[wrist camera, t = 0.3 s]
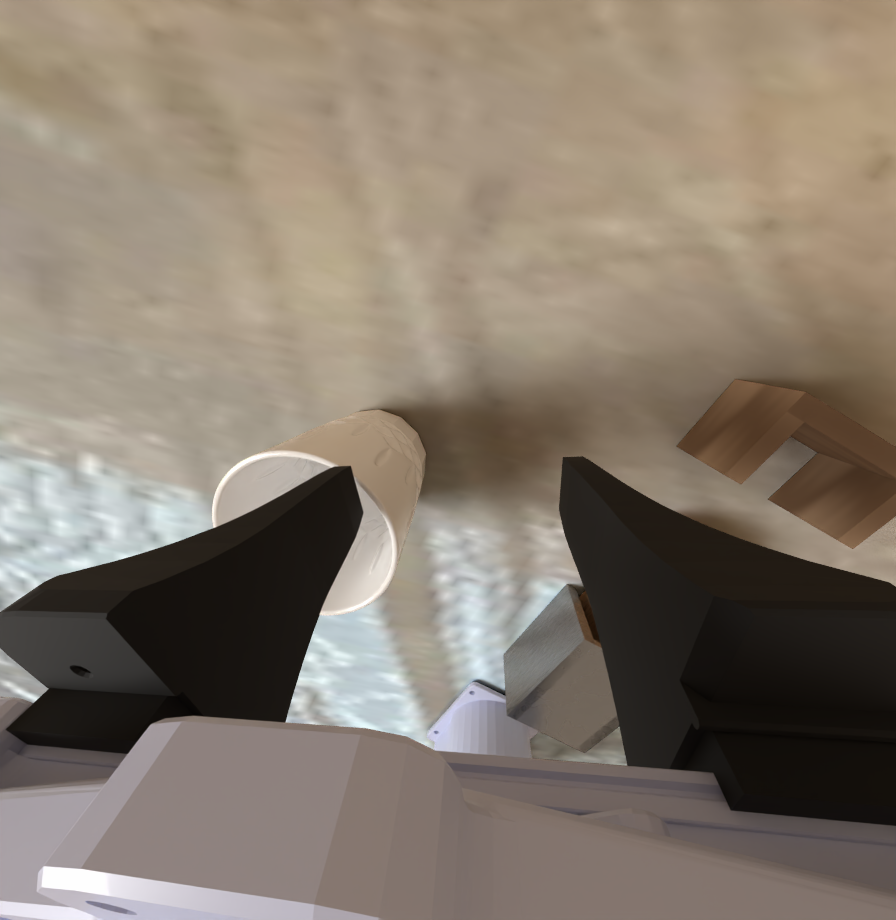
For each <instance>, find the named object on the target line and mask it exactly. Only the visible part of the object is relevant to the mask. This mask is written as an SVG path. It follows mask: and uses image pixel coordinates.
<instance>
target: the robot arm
mask: <svg viewBox="0 0 896 920" xmlns="http://www.w3.org/2000/svg"><path fill="white" fill-rule="evenodd" d="M559 511H560V515H561V520H562V525H563V529H564V533H565V537H566V540H567V542H568V545H569V548H570V550H571V553H572V556H573V559H574V561H575V564H576V567H577V569H578V572H579V575H580V577H581V580H582V583H583V585H584V588H585V591H586V593H587V596H588V599H589V602H590V605H591V608H592V612H593V616H594V620H595V624H596V628H597V631H598V635H599V639H600V643H601V647H602V652H603V656H604V660H605V664H606V668H607V672H608V676H609V681H610V685H611V690H612V694H613V699H614V703H615V708H616V712H617V717H618V721H619V726H620V731H621V736H622V741H623V745H624V750H625V755H626V760H627V765H628V766H622V765H610V764H597V763H585V762H572V761H560V760H547V759H535V758H532V755H531V746H530V739H531V738H532V737H534V736H535V735H536V734H537V733H538V732H539V731H538V730H536V729H534V728H531V727H529V726H527V725H525V724H523V723H521V722H519V721H517V720H515V719H513V718H511V717H508V716H507V713H506V696H504V695H502V694H500V693H498V692H496V691H494V690H492V689H490V688H488V687H486V686H484V685H482V684H480V683H477V682H472V683H470V684H469V686H468V687H467V688H466V689H465V690H464V691H463V692H462V694H461V695H460V696H459V697H458V698H457V699H456V700H455V701H454V703H453V704H452V705H451V706H450V707H449V708H448V709H447V711H446V712H445V713H444V714H443V715H442V716H441V717H440V718H439V720H438V721H437V722H436V723H435V724H434V725H433V726H432V728H431V729H430V730H429V731H428V733H427V738H428V739H429V740H431V741H433V742H435V747H434V750H433V749H431V748H429V747H427V746H425V745H423V744H421V743H419V742H416V741H414V740H412V739H410V738H408V737H406V736H401V735H396V734H391V733H386V732H381V731H376V730H371V729H366V728H353V727H339V726H326V725H312V724H298V723H285V721H286V718H287V714H288V710H289V707H290V703H291V699H292V696H293V693H294V690H295V686H296V683H297V680H298V676H299V673H300V670H301V667H302V663H303V660H304V657H305V654H306V651H307V648H308V646H309V643H310V640H311V637H312V634H313V631H314V628H315V625H316V623H317V620H318V617H319V615H320V612H321V609H322V607H323V604H324V602H325V600H326V597H327V595H328V593H329V591H330V589H331V587H332V585H333V583H334V581H335V579H336V577H337V575H338V573H339V571H340V569H341V567H342V565H343V563H344V561H345V559H346V557H347V555H348V552H349V550H350V548H351V546H352V544H353V542H354V540H355V538H356V535H357V532H358V530H359V527H360V523H361V520H362V517H363V513H364V512H363V508H362V505H361V501H360V497H359V494H358V490H357V486H356V483H355V479H354V475H353V472H352V468H351V466H334V467H332V468H329V469H327V470H325V471H323V472H321V473H320V474H318V475H316V476H314V477H312V478H311V479H309V480H307V481H305V482H304V483H302V484H300V485H298V486H297V487H295V488H293V489H291V490H290V491H288V492H286V493H284V494H283V495H281V496H279V497H277V498H275V499H273V500H271V501H270V502H268V503H266V504H264V505H262V506H260V507H258V508H256V509H254V510H252V511H250V512H248V513H246V514H244V515H242V516H240V517H238V518H236V519H233V520H231V521H229V522H227V523H224V524H222V525H220V526H217V527H215V528H213V529H210V530H207V531H205V532H202V533H199V534H197V535H194V536H192V537H189V538H186V539H184V540H181V541H178V542H175V543H173V544H170V545H167V546H164V547H161V548H158V549H155V550H151V551H148V552H145V553H142V554H138V555H135V556H132V557H128V558H125V559H121V560H118V561H114V562H110V563H106V564H102V565H99V566H95V567H91V568H87V569H83V570H79V571H75V572H71V573H67V574H63V575H59V576H56V577H54V578H52V579H50V580H48V581H46V582H44V583H42V584H41V585H39V586H38V587H36V588H35V589H33V590H32V591H30V592H29V593H28V594H26V595H25V596H23V597H22V598H20V599H19V600H17V601H16V602H14V603H13V604H11V605H10V606H8V607H7V608H6V609H4V610H3V611H1V612H0V648H1V649H2V650H3V651H4V652H5V653H6V654H7V655H8V656H9V657H11V658H12V659H13V660H14V661H15V662H17V663H18V664H19V665H20V666H22V667H23V668H24V669H25V670H26V671H28V672H29V673H30V674H31V675H32V676H34V677H35V678H36V679H37V680H39V681H40V682H41V683H42V684H43V685H45V686H46V687H47V688H49V689H48V690H47V691H46V692H45V693H44V694H43V695H42V696H41V697H40V698H39V699H38V700H36V701H35V702H34V703H31V702H28V701H26V700H23V699H19V698H12V697H0V920H896V587H895V586H894V585H892V584H891V583H889V582H885V581H882V580H878V579H874V578H870V577H867V576H863V575H859V574H855V573H851V572H848V571H844V570H840V569H836V568H833V567H829V566H825V565H821V564H818V563H814V562H810V561H807V560H803V559H800V558H797V557H794V556H791V555H787V554H784V553H781V552H778V551H775V550H772V549H768V548H765V547H762V546H759V545H756V544H754V543H751V542H748V541H745V540H742V539H739V538H737V537H734V536H732V535H729V534H726V533H724V532H721V531H719V530H716V529H713V528H711V527H708V526H706V525H704V524H701V523H699V522H697V521H694V520H692V519H690V518H688V517H686V516H684V515H681V514H679V513H677V512H675V511H673V510H671V509H669V508H667V507H665V506H663V505H661V504H659V503H657V502H655V501H653V500H652V499H650V498H648V497H646V496H645V495H643V494H641V493H639V492H638V491H636V490H634V489H633V488H631V487H629V486H628V485H626V484H625V483H623V482H621V481H620V480H618V479H617V478H615V477H614V476H612V475H611V474H609V473H608V472H606V471H605V470H603V469H602V468H600V467H599V466H597V465H596V464H594V463H593V462H591V461H590V460H588V459H586V458H585V457H583V456H582V457H563V463H562V476H561V490H560V503H559Z"/></svg>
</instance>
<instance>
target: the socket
mask: <svg viewBox="0 0 896 920" xmlns="http://www.w3.org/2000/svg"><path fill="white" fill-rule="evenodd" d="M790 436H791V437H793V438H794V439H796V440H798V441H799V442H801V443H803V444H804V445H806V446H808V447H809V448H811V449H813V450H814V451H816V452H818V454H816V455H815V456H814V457H813V458H812V459H811V460H810V461H809V462H808V463H807V464H806V465H805V466H803V467H802V468H801V469H800V470H799V471H798V472H797V473H796V474H795V475H794V476H793V477H792V478H791V479H789V480H788V481H787V482H786V483H785V484H784V485H783V486H782V487H781V488H780V489H779V490H778V491H776V492H775V493H774V494H773V495H772V496H771V497H770V498H769V499H768V500H770V501H772V502H773V503H775V504H777V505H778V506H780V507H782V508H784V509H785V510H787V511H789V512H790V513H792V514H794V515H795V516H797V517H799V518H801V519H802V520H804V521H806V522H807V523H809V524H811V525H812V526H814V527H816V528H818V529H819V530H821V531H823V532H824V533H826V534H828V535H830V536H831V537H833V538H835V539H836V540H838V541H840V542H842V543H843V544H845V545H847V546H848V547H850V548H852V549H854V548H855V547H856V546H857V545H859V544H860V543H861V542H863V541H864V540H865V539H867V538H868V537H869V536H870V535H872V534H873V533H874V532H876V531H877V530H878V529H879V528H881V527H882V526H883V525H885V524H886V523H887V522H889V521H890V520H891V519H892V518H894V517H895V516H896V447H895V446H893V445H891V444H890V443H888V442H887V441H885V440H883V439H882V438H880V437H878V436H877V435H875V434H874V433H872V432H870V431H869V430H867V429H865V428H864V427H862V426H861V425H859V424H857V423H856V422H854V421H852V420H851V419H849V418H848V417H846V416H844V415H843V414H841V413H839V412H838V411H836V410H835V409H833V408H831V407H830V406H828V405H826V404H825V403H823V402H822V401H820V400H818V399H817V398H815V397H813V396H812V395H810V394H809V393H807V392H804V391H798V390H793V389H787V388H782V387H776V386H770V385H765V384H759V383H754V382H748V381H743V380H737V379H735V380H734V381H733V382H732V384H731V385H730V386H729V387H728V388H727V389H726V390H725V391H724V393H723V394H722V395H721V396H720V397H719V398H718V399H717V401H716V402H715V403H714V404H713V405H712V406H711V407H710V409H709V410H708V411H707V412H706V413H705V414H704V415H703V417H702V418H701V419H700V420H699V421H698V422H697V423H696V425H695V426H694V427H693V428H692V429H691V430H690V431H689V432H688V434H687V435H686V436H685V437H684V438H683V439H682V440H681V442H680V443H679V444H678V445H677V447H678V448H680V449H682V450H683V451H685V452H687V453H688V454H690V455H692V456H693V457H695V458H697V459H699V460H700V461H702V462H704V463H705V464H707V465H709V466H710V467H712V468H714V469H715V470H717V471H719V472H720V473H722V474H724V475H726V476H727V477H729V478H731V479H733V480H734V481H736V482H738V483H739V484H742V483H743V482H744V481H745V480H746V479H747V478H748V477H749V476H750V475H751V474H752V473H753V472H754V471H755V470H756V469H757V468H758V467H759V466H760V465H761V464H763V463H764V462H765V461H766V460H767V459H768V458H769V457H770V456H771V455H772V454H773V453H774V452H775V451H776V450H777V449H778V448H779V447H780V446H781V445H782V444H783V443H784V442H785V441H786V440H787V439H788V438H789V437H790Z"/></svg>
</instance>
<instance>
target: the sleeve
mask: <svg viewBox="0 0 896 920" xmlns="http://www.w3.org/2000/svg"><path fill="white" fill-rule="evenodd" d="M504 673H505V693H506V713H507V716H508V717H511V718H513V719H515V720H517V721H519V722H521V723H523V724H525V725H527V726H529V727H531V728H534V729H536V730H538V731H540V732H542V733H544V734H546V735H548V736H550V737H552V738H554V739H556V740H559V741H561V742H563V743H565V744H567V745H569V746H571V747H573V748H575V749H577V750H579V751H581V752H584V753H585V752H587V751H588V750H589V749H591V748H592V747H593V746H594V745H596V744H597V743H598V742H600V741H601V740H602V739H603V738H605V737H606V736H607V735H609V734H610V733H611V732H613V731H614V730H615V729H616V728H618V727H619V721H618V717H617V712H616V708H615V703H614V699H613V694H612V690H611V685H610V681H609V676H608V672H607V668H606V664H605V660H604V656H603V652H602V647H601V643H600V642H598V641H596V640H594V639H593V637H592V634H591V631H590V628H589V625H588V622H587V619H586V616H585V614H584V611H583V608H582V605H581V602H580V599H579V596H578V593H577V591H576V589H575V588H573V587H571V586H569V585H568V584H567V585H566V586H565V587H564V588H563V589H562V590H561V591H560V592H559V594H558V595H557V596H556V597H555V598H554V599H553V600H552V601H551V602H550V604H549V605H548V606H547V607H546V608H545V609H544V610H543V611H542V612H541V614H540V615H539V616H538V617H537V618H536V619H535V620H534V621H533V622H532V624H531V625H530V626H529V627H528V628H527V629H526V630H525V631H524V633H523V634H522V635H521V636H520V637H519V638H518V639H517V640H516V641H515V643H514V644H513V645H512V646H511V647H510V648H509V649H508V650H507V651H506V653H505V654H504Z"/></svg>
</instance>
